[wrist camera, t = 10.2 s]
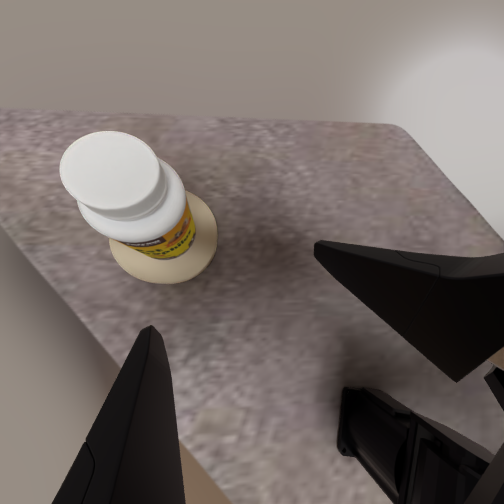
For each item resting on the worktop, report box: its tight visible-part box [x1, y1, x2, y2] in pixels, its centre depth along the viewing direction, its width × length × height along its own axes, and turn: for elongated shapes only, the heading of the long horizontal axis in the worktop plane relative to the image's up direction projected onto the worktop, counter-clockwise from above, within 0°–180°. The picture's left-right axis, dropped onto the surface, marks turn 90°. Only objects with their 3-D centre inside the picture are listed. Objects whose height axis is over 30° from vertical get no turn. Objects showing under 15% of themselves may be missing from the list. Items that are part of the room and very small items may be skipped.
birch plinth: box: [109, 190, 218, 284], centre depth 19 cm, size 10×10×3 cm
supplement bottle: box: [60, 131, 196, 260], centre depth 13 cm, size 6×6×10 cm
